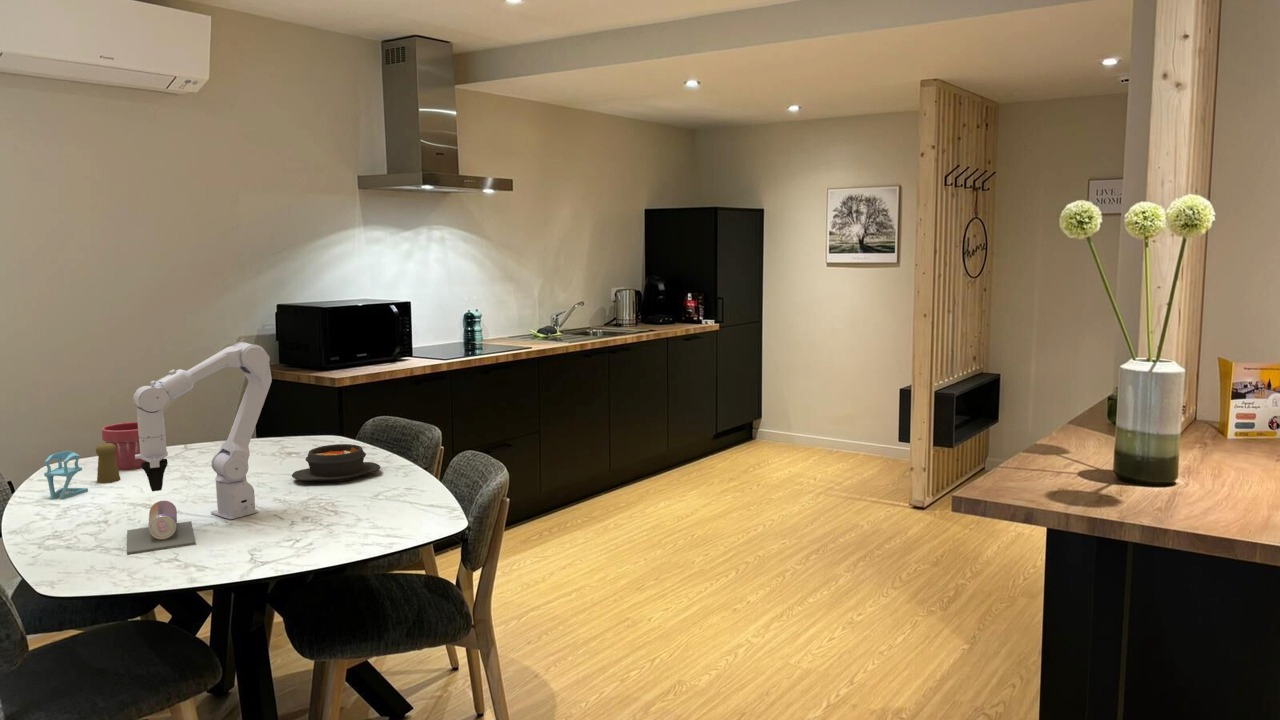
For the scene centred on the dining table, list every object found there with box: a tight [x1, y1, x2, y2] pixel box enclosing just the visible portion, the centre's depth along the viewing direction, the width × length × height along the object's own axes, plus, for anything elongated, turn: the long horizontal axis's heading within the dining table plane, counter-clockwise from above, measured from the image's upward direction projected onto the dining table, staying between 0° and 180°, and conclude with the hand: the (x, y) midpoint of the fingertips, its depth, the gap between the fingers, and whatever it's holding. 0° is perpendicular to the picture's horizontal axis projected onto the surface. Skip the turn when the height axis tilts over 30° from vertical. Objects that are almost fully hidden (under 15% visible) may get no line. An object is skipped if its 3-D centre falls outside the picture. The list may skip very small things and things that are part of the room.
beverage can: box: [147, 500, 178, 539], centre depth 223 cm, size 6×6×15 cm
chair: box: [43, 450, 89, 500], centre depth 256 cm, size 8×8×12 cm
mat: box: [126, 520, 197, 555], centre depth 219 cm, size 18×14×1 cm
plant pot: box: [101, 421, 146, 471], centre depth 287 cm, size 14×14×13 cm
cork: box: [95, 442, 121, 484], centre depth 270 cm, size 6×6×11 cm
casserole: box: [291, 443, 381, 483], centre depth 272 cm, size 25×19×8 cm
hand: (156, 490), depth 226 cm, fingers closed
